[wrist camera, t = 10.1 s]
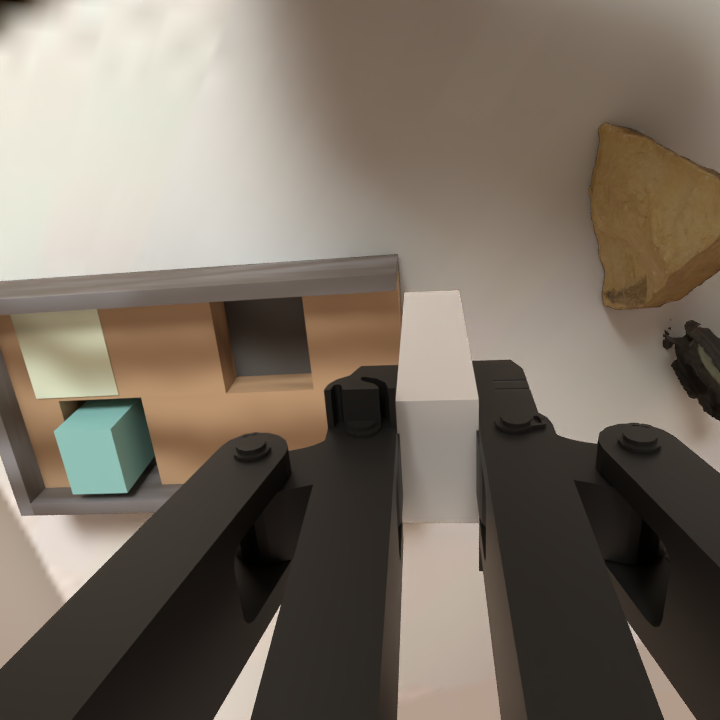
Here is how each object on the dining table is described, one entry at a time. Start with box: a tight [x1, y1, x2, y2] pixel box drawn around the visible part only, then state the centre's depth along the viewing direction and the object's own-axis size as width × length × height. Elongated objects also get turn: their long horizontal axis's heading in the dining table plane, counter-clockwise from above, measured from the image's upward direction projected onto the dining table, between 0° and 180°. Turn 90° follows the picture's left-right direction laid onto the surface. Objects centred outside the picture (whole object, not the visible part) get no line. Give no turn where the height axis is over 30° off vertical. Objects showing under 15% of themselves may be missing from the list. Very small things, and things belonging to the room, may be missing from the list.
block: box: [54, 397, 155, 494], centre depth 45 cm, size 5×5×4 cm
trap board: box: [0, 254, 402, 516], centre depth 43 cm, size 16×28×5 cm, turn 95°
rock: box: [589, 123, 720, 310], centre depth 36 cm, size 11×9×10 cm
